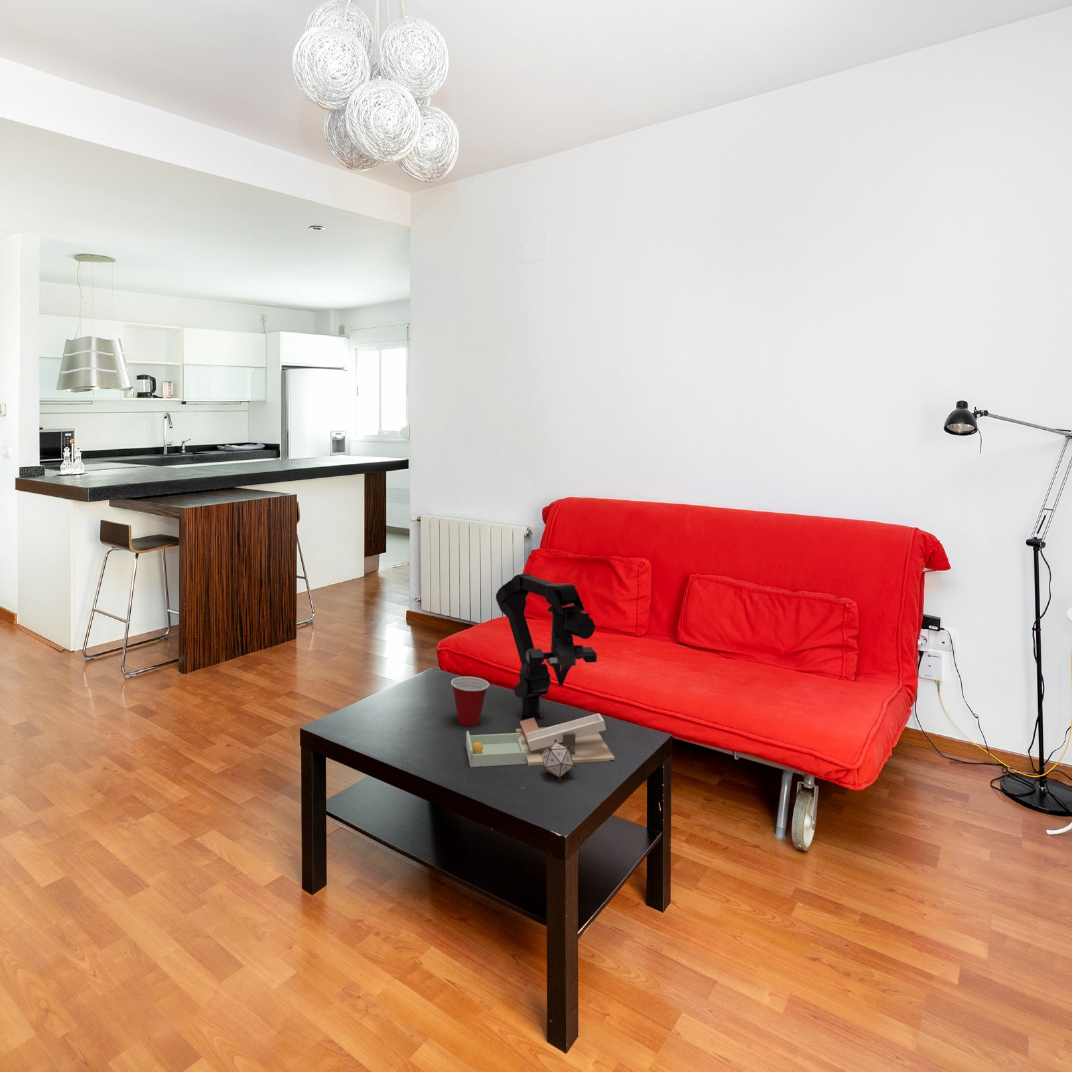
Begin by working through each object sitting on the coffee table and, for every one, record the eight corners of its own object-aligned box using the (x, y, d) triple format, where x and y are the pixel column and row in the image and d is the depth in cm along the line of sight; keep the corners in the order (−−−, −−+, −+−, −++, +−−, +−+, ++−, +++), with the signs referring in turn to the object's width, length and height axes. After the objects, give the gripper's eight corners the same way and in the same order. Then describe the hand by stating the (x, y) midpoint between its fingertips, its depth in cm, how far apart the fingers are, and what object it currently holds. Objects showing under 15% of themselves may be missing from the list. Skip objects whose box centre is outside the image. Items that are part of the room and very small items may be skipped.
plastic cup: (487, 730, 200) (487, 688, 198) (448, 729, 200) (448, 687, 199) (490, 715, 211) (491, 675, 209) (453, 714, 211) (453, 674, 209)
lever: (520, 724, 200) (518, 716, 200) (589, 705, 203) (587, 697, 203) (531, 751, 184) (528, 741, 183) (606, 729, 187) (604, 720, 186)
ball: (483, 741, 185) (480, 752, 186) (472, 739, 185) (469, 750, 185) (484, 745, 182) (482, 757, 183) (473, 744, 182) (470, 755, 182)
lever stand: (515, 731, 200) (516, 710, 199) (593, 727, 204) (594, 707, 203) (528, 765, 179) (528, 742, 178) (614, 760, 183) (615, 737, 182)
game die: (553, 793, 173) (535, 769, 168) (546, 766, 181) (528, 742, 175) (586, 777, 172) (569, 752, 167) (578, 750, 180) (561, 726, 175)
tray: (466, 746, 189) (466, 731, 189) (519, 743, 192) (519, 728, 191) (470, 767, 178) (470, 750, 177) (526, 763, 180) (526, 747, 180)
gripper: (533, 639, 188) (532, 697, 190) (603, 637, 191) (601, 694, 193) (526, 628, 198) (525, 683, 201) (592, 626, 202) (590, 680, 204)
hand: (560, 685), depth 199 cm, fingers closed
